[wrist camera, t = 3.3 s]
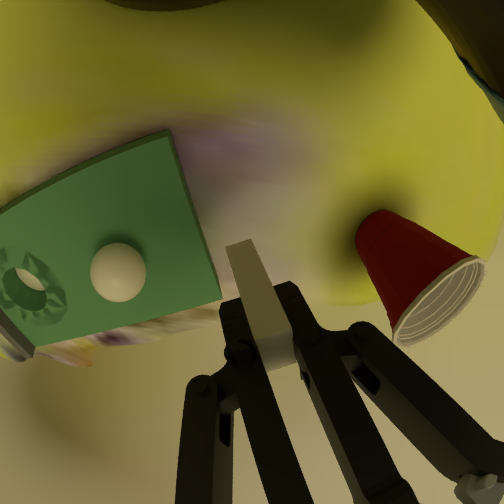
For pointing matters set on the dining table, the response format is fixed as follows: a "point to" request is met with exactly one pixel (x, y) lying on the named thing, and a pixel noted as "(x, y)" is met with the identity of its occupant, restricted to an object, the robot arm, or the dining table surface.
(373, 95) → the dining table surface
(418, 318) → the plastic cup
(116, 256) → the ball
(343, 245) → the dining table surface
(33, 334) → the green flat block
